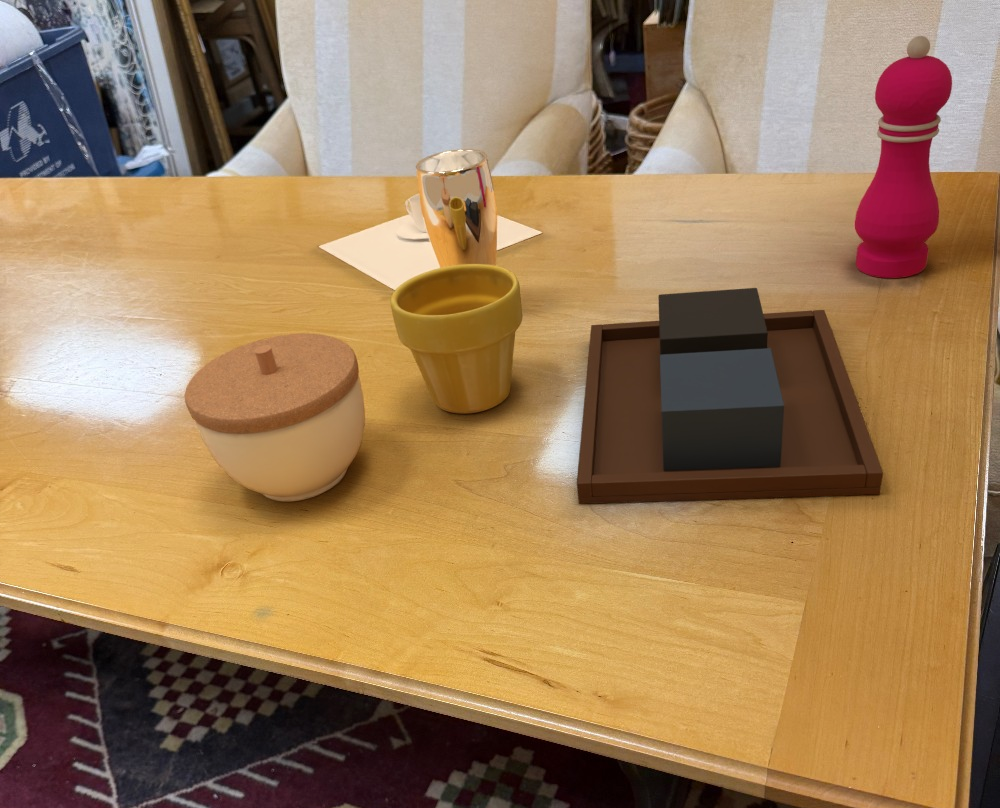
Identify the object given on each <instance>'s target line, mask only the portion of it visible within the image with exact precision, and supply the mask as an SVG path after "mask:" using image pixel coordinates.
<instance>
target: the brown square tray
mask: <svg viewBox="0 0 1000 808" xmlns="http://www.w3.org/2000/svg"><path fill="white" fill-rule="evenodd" d="M763 315H764V319H765V323H766V328H767V332H768V338H767V348H771V351H772V356H773V360H774V364H775V368H776V373H777V377H778V381H779V386H780V390H781V394H782V398H783V403H784V417H783V433H782V450H781V466H780V467H761V468H733V469H706V470H679V471H664V470H663V441H662V410H661V378H660V332H659V320H646V321H631V322H617V323H615V322H614V323H603V324H602V323H601V324H591V325H590V334H589V344H588V354H587V355H588V356H587V357H588V358H587V366H586V367H587V368H586V379H585V389H584V400H583V401H584V402H583V410H582V422H581V433H580V443H579V444H580V445H579V454H578V455H579V456H578V466H577V475H576V477H577V478H576V491H577V499H578V504H579V505H584V504H613V503H614V504H615V503H644V502H645V503H647V502H649V503H650V502H674V501H676V502H677V501H707V500H738V499H739V500H742V499H768V498H772V499H773V498H774V499H775V498H803V497H833V496H835V497H836V496H862V495H863V496H864V495H865V496H866V495H880V494H881V490H882V487H881V486H882V482H883V476H884V472H883V469H882V466H881V464H880V461H879V458H878V455H877V452H876V449H875V447H874V444H873V441H872V438H871V435H870V433H869V429H868V428H867V427H868V426H867V425H866V421H865V419H864V417H863V416H864V415H863V413H862V410H861V409H860V405H859V402H858V399H857V396H856V394H855V391H854V388H853V385H852V383H851V380H850V377H849V374H848V372H847V368H846V366H845V363H844V361H843V357H842V355H841V352H840V350H839V347H838V344H837V341H836V338H835V335H834V333H833V330H832V327H831V325H830V322H829V319H828V317H827V316H828V315H827V313H826V311H825V309H815V310H813V309H812V310H797V311H796V310H795V311H784V312H780V311H779V312H767V313H765V312H764V313H763Z"/></svg>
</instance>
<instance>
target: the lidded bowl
mask: <svg viewBox="0 0 1000 808" xmlns="http://www.w3.org/2000/svg"><path fill="white" fill-rule="evenodd" d="M359 373H360V370H359V362H358V359H357V355H356V353H355V351H354V349H353V348H352V347H351V346H350V345H349V344H348V343H347V342H345V341H343V340H342V339H339V338H337V337H334V336H330V335H327V334H319V333H291V334H290V333H289V334H282V335H275V336H271V337H267V338H263V339H258V340H254V341H252V342H249V343H246V344H243V345H240V346H238V347H236V348H233V349H230V350H229V351H226V352H224V353H223V354H220V355H219V356H217V357H215V358H214V359H212V360H210V361H209V362H208V363H206V364H205V365H204V366H203V367H201V368H200V369H199V370H198V371H197V372H196V373H195V374H194V375H193V376H192V377H191V379H190V380H189V381H188V383H187V386H186V388H185V391H184V402H185V405H186V408H187V411H188V413H189V414H190V416H191V418H192V420H194V422H195V423H194V424H196V425H195V426H196V428H197V430H198V432H199V434H200V437H201V439H202V442H203V443H204V445H205V447H206V448H207V450H208V452H209V454H210V455H211V457H212V458H213V461H215V462H216V464H217V466H218V467H219V468H220V469H221V470H222V471H223V472H224V473H225V474H226V475H227V476H228V477H229V478H231V479H232V480H233V481H234V482H236V483H237V484H238V485H240V486H242V487H244V488H246V489H248V490H250V491H253V492H255V493H258V494H261V495H262V496H263V497H265V498H267V499H269V500H272V501H276V502H298V501H299V502H300V501H303V500H308V499H311V498H314V497H316V496H319V495H322V494H324V493H325V492H327V491H329V490H331V489H332V488H334V487H335V486H336V485H338V484H339V483H340V482H341V481H342V479H343V478H344V477H345V475H346V473H347V471H348V467H349V466H350V465H351V464H352V462H353V461H354V459H355V458H356V456H357V454H358V452H359V450H360V449H361V445H362V442H363V438H364V433H365V427H366V409H365V408H366V407H365V400H364V392H363V388H362V387H363V386H362V382H361V378H360V374H359Z"/></svg>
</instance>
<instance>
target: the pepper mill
mask: <svg viewBox="0 0 1000 808" xmlns="http://www.w3.org/2000/svg"><path fill="white" fill-rule="evenodd" d="M906 46H907V47H906V53H907V56H904V57H902V58H900V59H897V60H895V61H894V62H892V63H891V64H889V65H888V66H887V67H886V68H885V69H884V70H883V72H882V73H881V75H880V76H879V78H878V80H877V83H876V86H875V91H874V100H875V104H876V107H877V108H878V110H879V111H880V112H881V115H882V116H881V117H880V118H879V119H878V121H877V124H878V129H877V131H876V135H877V137H878V138H879V139H880V154H879V160H878V164H877V168H876V170H875V173H874V176H873V178H872V180H871V182H870V184H869V186H868V188H867V189H866V191H865V192H864V194H863V196H862V198H861V199H860V201H859V204H858V207H857V210H856V213H855V217H854V218H855V219H854V230H855V232H856V234H857V236H858V237H859V239H860V240H861V241H862V242H860V244H858V245H857V248H856V259H855V267H856V268H857V269H858V271H859V272H861V273H863V274H865V275H868V276H870V277H875V278H881V279H900V278H902V279H903V278H908V277H912V276H915V275H917V274H919V273H921V272H922V271H923V270H924V269H925V268H926V267H927V263H928V256H929V251H930V250H929V246H928V244H926V243H925V242H926V241H928V240H929V239H930V238H931V237H932V236H933V235H934V234H935V232H936V231H937V230H938V226H939V223H940V222H939V221H940V206H939V199H938V195H937V192H936V190H935V186H934V183H933V181H932V180H933V179H932V177H931V167H930V155H931V146H932V143H933V138H935V137H936V136H937V135H938V134H939V133H940V127H939V124H940V123H941V121H942V118H941V115H939V114H938V113H939V112H940V111H941V109H942V108H944V106H946V104H947V103H948V101H949V100H950V98H951V94H952V90H953V76H952V73H951V70H950V68H949V67H948V65H947V64H946V63H945V62H944V61H943V60H941V59H940V58H938V57H935V56H931V55H928V54H929V52H930V49H931V42H930V40H929V38H928V37H926V36H923V35H918V36H915V37H913V38H912V39H911V40H910V41H909V42H908V44H907V45H906Z"/></svg>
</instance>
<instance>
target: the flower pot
mask: <svg viewBox="0 0 1000 808" xmlns="http://www.w3.org/2000/svg"><path fill="white" fill-rule="evenodd" d="M389 303H390V309H391V314H392V317H393V323H394V327H395V330H396V335H397V336H398V337H397V338H398V340H399V341H400V343H401V344H402V345H403V346H404V347H405V348H408V349H409V350H410V352H411V354H412V356H413V358H414V360H415V363H416V365H417V367H418V370H419V372H420V374H421V375H422V378H423V380H424V382H425V385H426V387H427V389H428V391H429V393H430V395H431V398H432V399H433V402H434V403H435V405H436V406H437V407H438V408H440V409H441V410H443V411H445V412H448V413H453V414H462V415H463V414H466V415H467V414H477V413H480V412H484V411H488V410H490V409H493V408H494V407H496V406H499V405H500V404H501V403H503V402H504V401H506V399H507V398H508V396H509V394H510V392H511V384H512V374H513V362H514V350H515V339H516V332H517V330H518V329H519V327H520V326H521V325H522V321H523V305H522V293H521V287H520V281H519V279H518V277H517V275H516V274H514V272H512V271H511V270H509V269H507V268H505V267H502V266H499V265H496V266H494V265H488V264H462V265H454V266H447V267H443V268H438V269H434V270H431V271H428V272H425V273H422V274H420V275H417V276H415V277H413V278H411V279H409V280H407V281H406V282H404V283H403V284H401V285H400V286H399V287H398V288H397V289H396V290H393V292H392V294H391V296H390V301H389Z"/></svg>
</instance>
